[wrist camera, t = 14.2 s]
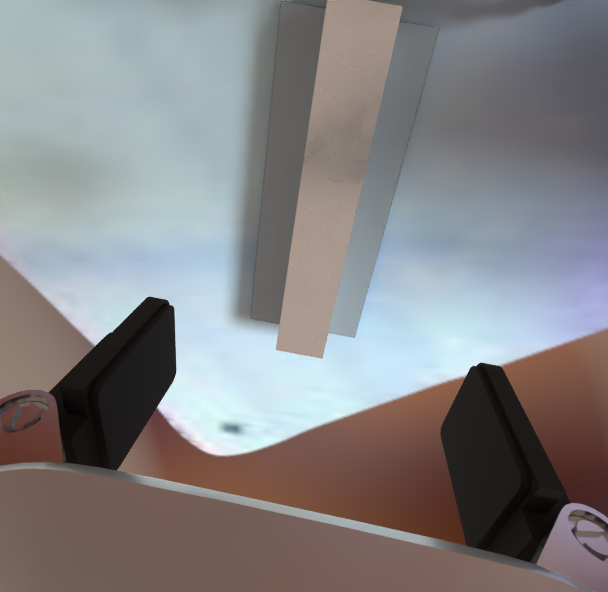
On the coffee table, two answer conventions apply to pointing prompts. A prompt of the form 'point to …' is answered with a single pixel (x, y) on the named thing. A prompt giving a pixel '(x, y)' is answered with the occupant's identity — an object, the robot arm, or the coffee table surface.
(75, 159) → the coffee table surface
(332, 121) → the rail
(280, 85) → the mat
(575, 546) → the robot arm
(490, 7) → the coffee table surface
